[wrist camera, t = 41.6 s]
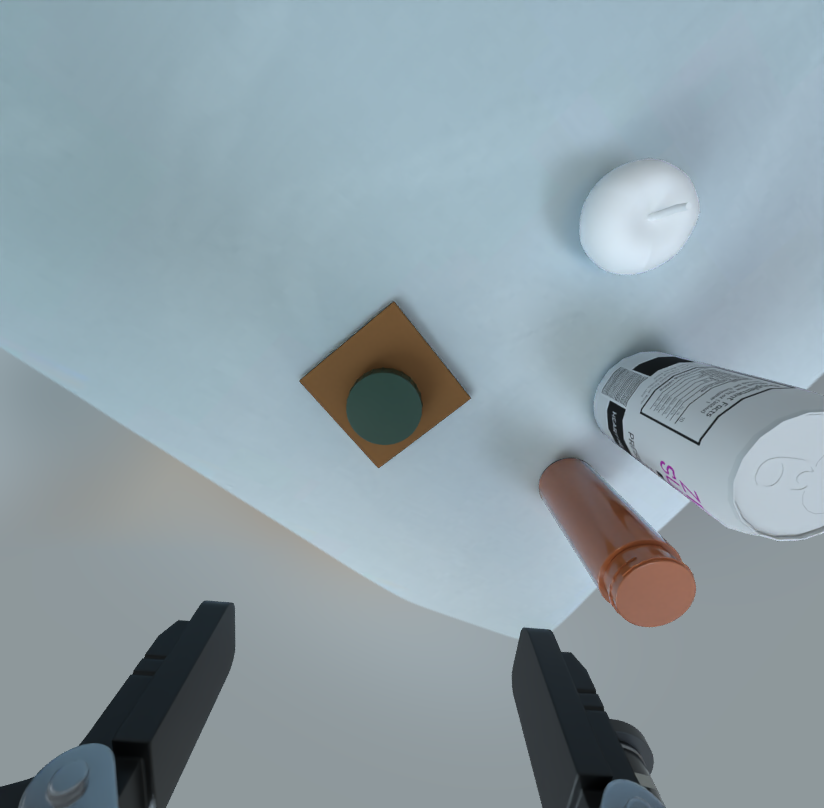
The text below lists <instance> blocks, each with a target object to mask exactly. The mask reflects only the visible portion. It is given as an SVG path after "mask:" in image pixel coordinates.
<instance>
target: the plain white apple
mask: <svg viewBox="0 0 824 808" xmlns="http://www.w3.org/2000/svg"><path fill="white" fill-rule="evenodd" d="M699 214H700V204H699V199H698V195H697V192H696V190H695V187H694V185H693V182H692V181H691V179H690V178H689V176H688V175H687V174H686V173H684V172H683V171H682V170H681V169H679V168H678V167H676V166H674V165H672V164H671V163H669V162H666V161H664V160H661V159H653V158H646V159H640V160H635V161H631V162H628V163H626V164H623V165H620V166H618V167H617V168H615V169H613V170H612V171H610V172H608V173H607V174H606V175H605V176H604V177H602V178H601V179H600V180H599V181H598V182H597V184H596V185H595V186H594V187H593V189H592V190H591V191H590V193H589V194H588V196H587V198H586V200H585V202H584V204H583V207H582V211H581V215H580V225H579V236H580V241H581V245H582V247H583V249H584V251H585V253H586V254H587V256H588V257H589V258H590V259H591V260H592V261H593V262H594V263H595V264H596V265H597V266H598V267H599V268H601V269H603V270H605V271H607V272H609V273H614V274H618V275H635V274H641V273H645V272H647V271H650V270H652V269H655V268H657V267H659V266H660V265H662V264H664V263H666V262H667V261H669V260H670V259H671V258H673V257H674V256H675V255H677V254H678V252H679V251H680V250H681V249H682V248H683V246H684V245H685V244H686V242H687V240H688V239H689V237H690V235H691V234H692V232H693V230H694V228H695V226H696V224H697V220H698V217H699Z"/></svg>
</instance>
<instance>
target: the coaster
mask: <svg viewBox="0 0 824 808" xmlns="http://www.w3.org/2000/svg"><path fill="white" fill-rule="evenodd" d="M382 367H384V368H391V369H392V368H393V369H395V370H398V371H403V373H404V374H406V375H407V376H410V377H411V379H412V380H413V381H414V383H415V384H417V388H418V390H419V392H421V401H422V403H423V407H422V416H421V419H420V422H419V425H418V426H417V428H416V430H415V431H414V432H413V433H412V434H411V435H410V436H409V437H408V438H406V439H405V440H403V441H401V442H398V443H396V444H391V445H379V444H374V443H371V442H368V441H366V440H365V439H363V438H362V437H360V436H359V435H358V434H357V433H356V432H355V431H354V430H353V428H352V427H351V425H350V423H349V421H348V418H347V413H346V404H347V401H346V400H347V398H348V396H349V393H350V392H349V391H350V389H351V387H353V386H354V384H355V382H356V380H357V379H359V378H360V377H361V376H363V374H364V373H367V372H369V371H371V370H372V369H378V368H382ZM300 383H301V384H302V385H303V386H304V387H305V388H306V389H307V390H308V391H309V392H310V394H311V395H312V396H313V397H314V398H315V399H316V400H317V401H318V402H319V403H320V405H321V406H322V407H323V408H324V409H325V410H326V411H327V412H328V413H329V414H330V416H331V417H332V418H333V419H334V420H335V421H336V422H337V423H338V424H339V426H340V427H341V428H342V429H343V430H344V431H345V432H346V433H347V434H348V435H349V437H350V438H351V439H352V440H353V441H354V442H355V443H356V444H357V445H358V446H359V448H360V449H361V450H362V451H363V452H364V453H365V454H366V455H367V456H368V457H369V459H370V460H371V461H372V462H373V463H374V464H375V465H376V466H377V467H378V468H380V467H381V466H382V465H384V464H385V463H386V462H388V461H389V460H390V459H392V458H393V457H394V456H396V455H397V454H398V453H400V452H401V451H402V450H404V449H405V448H406V447H408V446H409V445H410V444H411V443H413V442H414V441H415V440H417V439H418V438H419V437H421V436H422V435H423V434H425V433H426V432H427V431H429V430H430V429H431V428H433V427H434V426H435V425H437V424H438V423H439V422H441V421H442V420H443V419H445V418H446V417H447V416H449V415H450V414H451V413H453V412H454V411H455V410H456V409H458V408H459V407H460V406H462V405H463V404H464V403H466V402H467V401H468V400H470V399H471V398H470V396H469V395H468V394H467V393H466V391H465V390H464V389H463V387H462V386H461V385H460V384H459V382H458V381H457V380H456V379H455V377H454V376H453V375H452V374H451V372H450V371H449V370H448V369H447V367H446V366H445V365H444V364H443V362H442V361H441V360H440V359H439V357H438V356H437V355H436V353H435V352H434V351H433V350H432V348H431V347H430V346H429V345H428V343H427V342H426V341H425V340H424V338H423V337H422V336H421V335H420V333H419V332H418V331H417V330H416V328H415V327H414V326H413V325H412V323H411V322H410V321H409V319H408V318H407V317H406V316H405V314H404V313H403V312H402V311H401V309H400V308H399V307H398V306H397V304H396V303H395V302H393V303H391V304H390V305H389V306H388V307H387V308H385V309H384V310H383V311H382V312H381V313H380V314H378V315H377V316H376V317H375V318H374V319H372V320H371V321H370V322H369V323H368V324H366V325H365V326H364V327H363V328H362V329H360V330H359V331H358V332H357V333H356V334H354V335H353V336H352V337H351V338H350V339H349V340H347V341H346V342H345V343H344V344H343V345H341V346H340V347H339V348H338V349H337V350H335V351H334V352H333V353H332V354H331V355H329V356H328V357H327V358H326V359H325V360H323V361H322V362H321V363H320V364H319V365H318V366H316V367H315V368H314V369H313V370H312V371H310V372H309V373H308V374H307V375H306V376H304V377H303V378H302V379H301V380H300Z"/></svg>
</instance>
